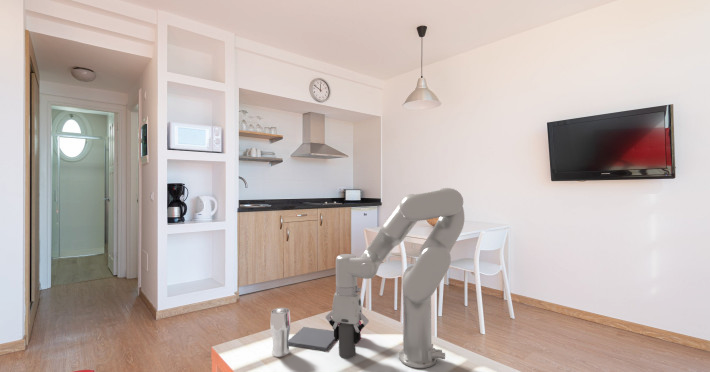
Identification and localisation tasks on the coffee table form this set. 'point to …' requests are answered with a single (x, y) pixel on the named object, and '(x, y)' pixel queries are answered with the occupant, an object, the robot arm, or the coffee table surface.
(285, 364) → the coffee table surface
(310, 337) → the mat
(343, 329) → the bottle
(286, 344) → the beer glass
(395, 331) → the coffee table surface
